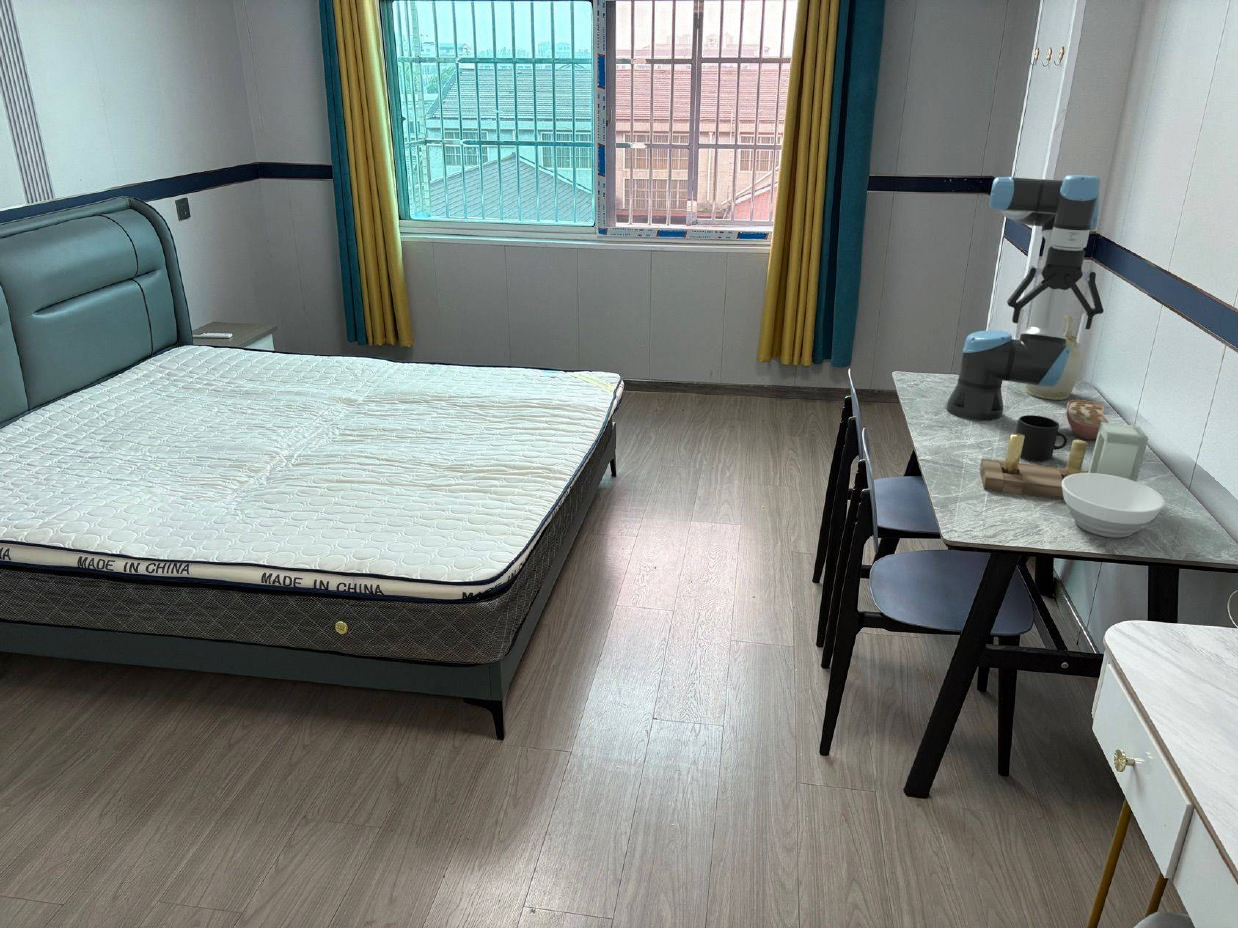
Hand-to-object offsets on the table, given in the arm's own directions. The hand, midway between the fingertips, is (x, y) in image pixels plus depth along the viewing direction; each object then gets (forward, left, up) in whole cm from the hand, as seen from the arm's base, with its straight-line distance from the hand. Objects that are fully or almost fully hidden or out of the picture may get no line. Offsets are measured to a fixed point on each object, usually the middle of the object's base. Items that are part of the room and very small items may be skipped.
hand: (1047, 339), depth 210 cm
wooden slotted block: (+13, +5, -32) cm, 35 cm away
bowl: (+31, +13, -32) cm, 46 cm away
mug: (-8, +5, -32) cm, 33 cm away
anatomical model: (-34, +20, -32) cm, 51 cm away
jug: (-64, +15, -32) cm, 73 cm away
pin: (+13, -4, -32) cm, 35 cm away
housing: (+13, +17, -28) cm, 36 cm away
